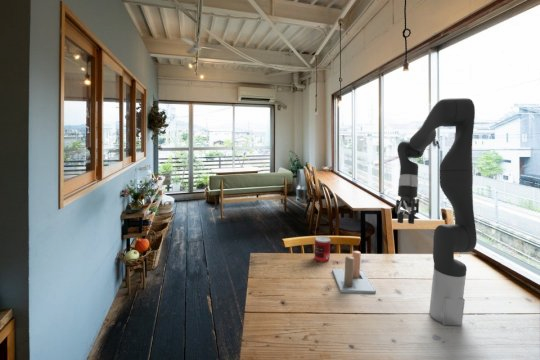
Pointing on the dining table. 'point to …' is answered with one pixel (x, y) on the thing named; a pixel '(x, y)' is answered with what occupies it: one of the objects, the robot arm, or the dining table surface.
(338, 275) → the board
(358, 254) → the wooden peg
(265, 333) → the dining table surface
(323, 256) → the canned food
